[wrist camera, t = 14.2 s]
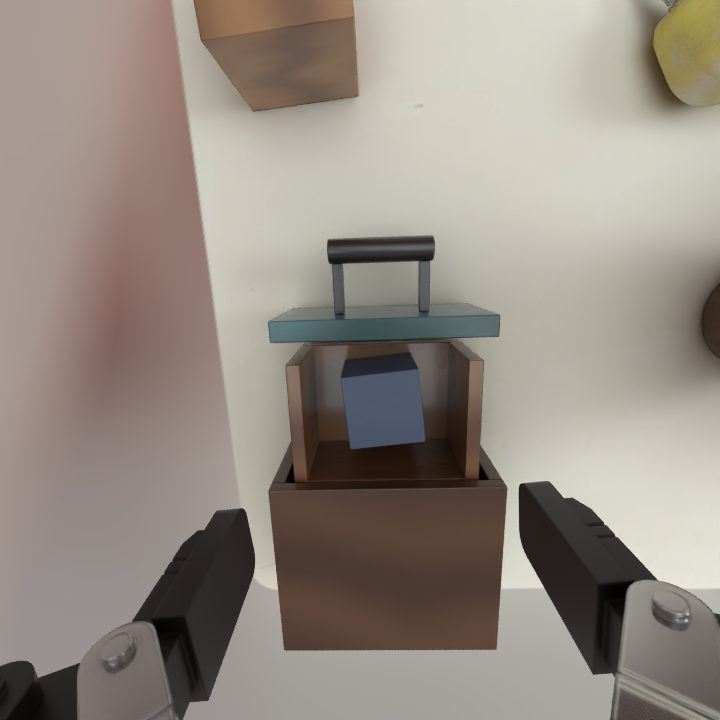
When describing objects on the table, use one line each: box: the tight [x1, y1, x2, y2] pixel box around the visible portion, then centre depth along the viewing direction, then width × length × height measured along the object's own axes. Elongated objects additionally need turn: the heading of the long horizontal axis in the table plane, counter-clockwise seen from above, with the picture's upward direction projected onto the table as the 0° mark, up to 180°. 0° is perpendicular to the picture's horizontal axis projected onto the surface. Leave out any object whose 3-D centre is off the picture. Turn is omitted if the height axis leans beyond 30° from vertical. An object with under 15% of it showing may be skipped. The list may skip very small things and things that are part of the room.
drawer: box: [268, 235, 500, 483], centre depth 24 cm, size 15×12×7 cm
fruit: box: [653, 0, 720, 107], centre depth 21 cm, size 6×6×10 cm
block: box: [340, 352, 425, 449], centre depth 25 cm, size 5×5×5 cm
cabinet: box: [268, 442, 507, 650], centre depth 27 cm, size 12×14×9 cm
